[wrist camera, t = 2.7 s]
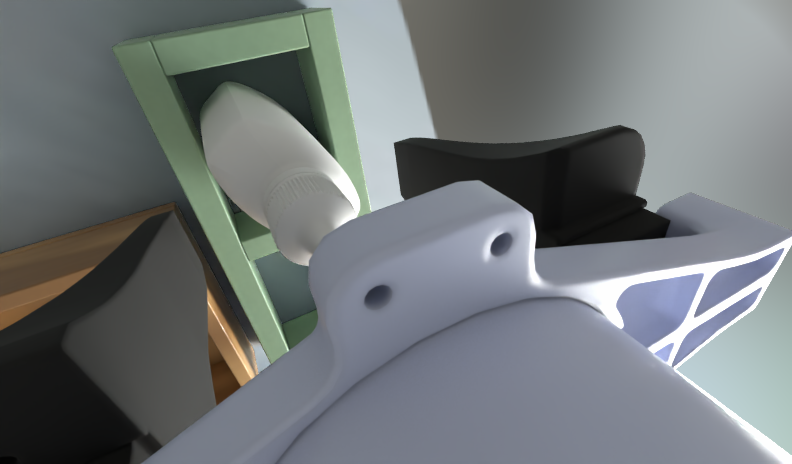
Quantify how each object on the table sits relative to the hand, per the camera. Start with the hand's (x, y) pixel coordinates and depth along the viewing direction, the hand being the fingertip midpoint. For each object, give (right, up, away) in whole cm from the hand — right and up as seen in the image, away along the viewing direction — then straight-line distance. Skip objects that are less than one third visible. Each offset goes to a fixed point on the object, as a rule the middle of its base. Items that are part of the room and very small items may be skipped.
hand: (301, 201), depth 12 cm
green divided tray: (-3, 0, +9) cm, 10 cm away
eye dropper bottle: (-4, +4, +7) cm, 9 cm away
